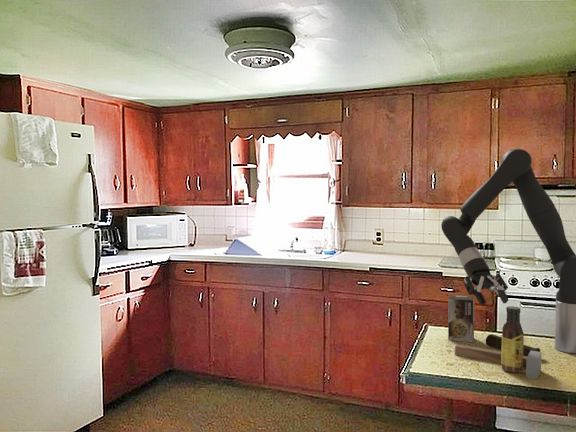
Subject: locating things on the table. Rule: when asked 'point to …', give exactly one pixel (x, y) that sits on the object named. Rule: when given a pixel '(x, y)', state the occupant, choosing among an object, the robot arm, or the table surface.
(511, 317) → the sauce bottle
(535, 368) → the end stop
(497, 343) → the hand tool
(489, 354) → the walnut straightedge
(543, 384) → the table surface
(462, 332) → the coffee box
